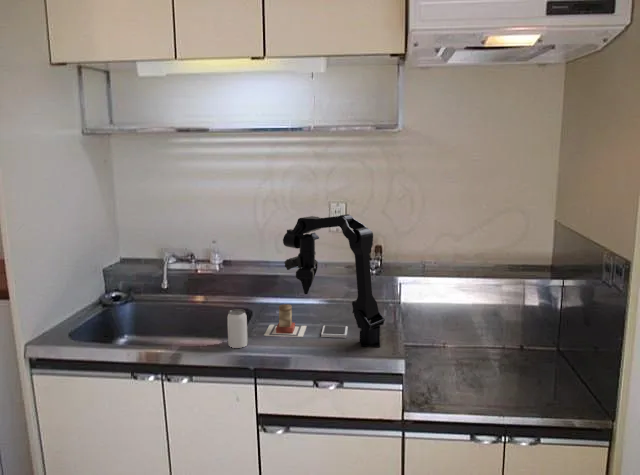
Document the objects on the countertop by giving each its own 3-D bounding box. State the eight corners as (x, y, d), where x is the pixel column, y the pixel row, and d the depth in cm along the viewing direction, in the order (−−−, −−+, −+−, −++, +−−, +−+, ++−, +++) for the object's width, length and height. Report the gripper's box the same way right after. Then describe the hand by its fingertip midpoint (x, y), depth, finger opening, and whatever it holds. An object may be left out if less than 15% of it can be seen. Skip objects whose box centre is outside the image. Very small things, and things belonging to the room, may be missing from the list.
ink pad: (347, 328, 191) (347, 325, 191) (346, 337, 182) (346, 334, 182) (323, 328, 192) (323, 324, 191) (321, 336, 183) (321, 333, 183)
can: (249, 342, 178) (248, 309, 176) (245, 349, 172) (243, 315, 170) (231, 341, 179) (230, 308, 177) (226, 348, 172) (224, 314, 170)
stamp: (295, 327, 191) (294, 304, 190) (292, 333, 185) (292, 309, 184) (279, 327, 192) (278, 303, 190) (276, 333, 186) (275, 308, 184)
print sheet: (306, 326, 193) (306, 325, 193) (302, 337, 183) (302, 335, 182) (269, 325, 195) (269, 324, 195) (263, 335, 184) (263, 334, 184)
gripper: (289, 245, 202) (290, 283, 204) (281, 255, 183) (282, 297, 186) (318, 245, 200) (318, 284, 203) (312, 255, 182) (312, 298, 185)
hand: (307, 290), depth 194 cm, fingers open, 9 cm apart
